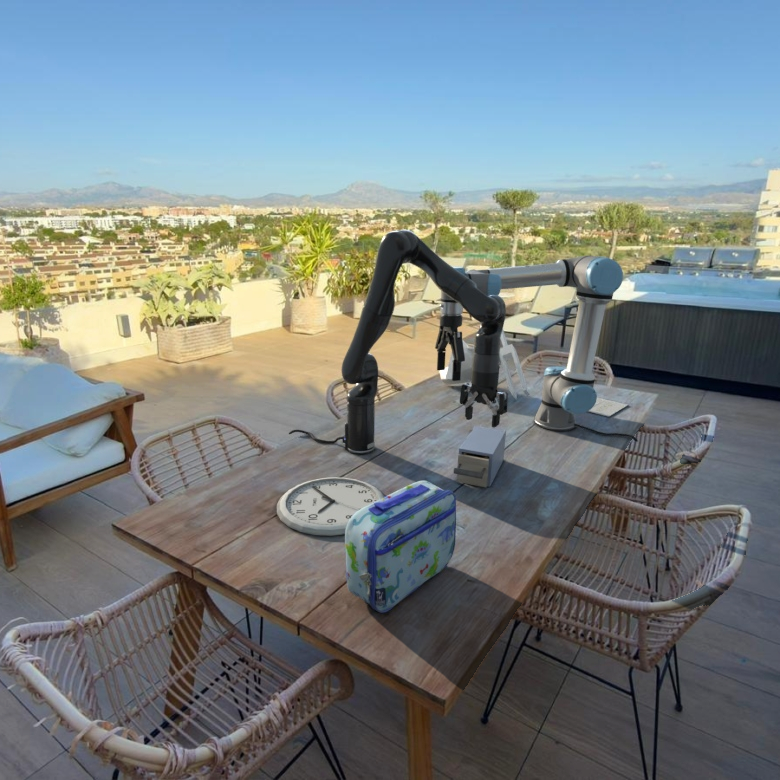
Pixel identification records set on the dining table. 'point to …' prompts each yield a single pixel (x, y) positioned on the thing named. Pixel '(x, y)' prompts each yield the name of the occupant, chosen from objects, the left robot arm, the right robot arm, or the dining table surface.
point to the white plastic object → (505, 355)
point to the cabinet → (486, 447)
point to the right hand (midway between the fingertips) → (448, 375)
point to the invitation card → (606, 407)
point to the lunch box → (399, 543)
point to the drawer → (472, 469)
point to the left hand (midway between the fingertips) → (481, 422)
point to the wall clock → (325, 504)
